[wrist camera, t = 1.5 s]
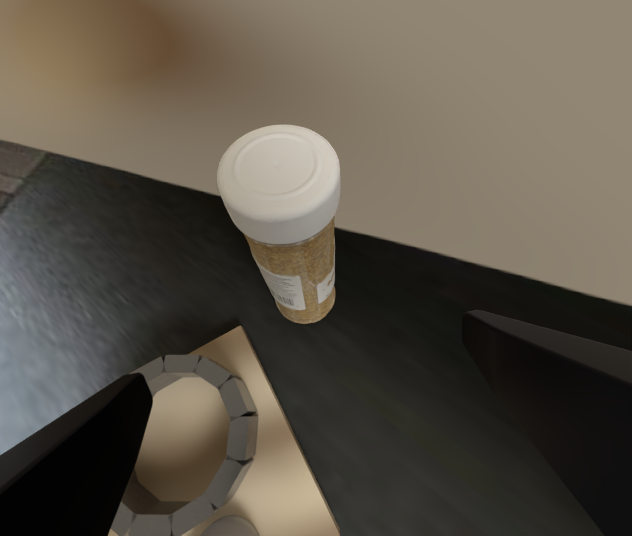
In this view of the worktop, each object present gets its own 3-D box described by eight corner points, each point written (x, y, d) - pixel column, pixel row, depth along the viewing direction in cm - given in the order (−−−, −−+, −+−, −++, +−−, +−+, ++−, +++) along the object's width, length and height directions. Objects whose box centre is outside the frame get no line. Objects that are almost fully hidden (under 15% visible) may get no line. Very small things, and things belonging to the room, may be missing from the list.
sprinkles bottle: (346, 304, 23) (367, 177, 10) (293, 337, 22) (246, 240, 10) (314, 258, 24) (300, 102, 12) (263, 286, 23) (193, 149, 11)
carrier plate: (339, 528, 17) (340, 542, 15) (147, 668, 15) (122, 703, 13) (244, 328, 22) (236, 321, 20) (91, 413, 20) (67, 413, 18)
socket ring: (282, 465, 18) (275, 473, 15) (137, 561, 16) (105, 585, 14) (225, 337, 21) (212, 328, 19) (100, 406, 19) (70, 405, 17)
